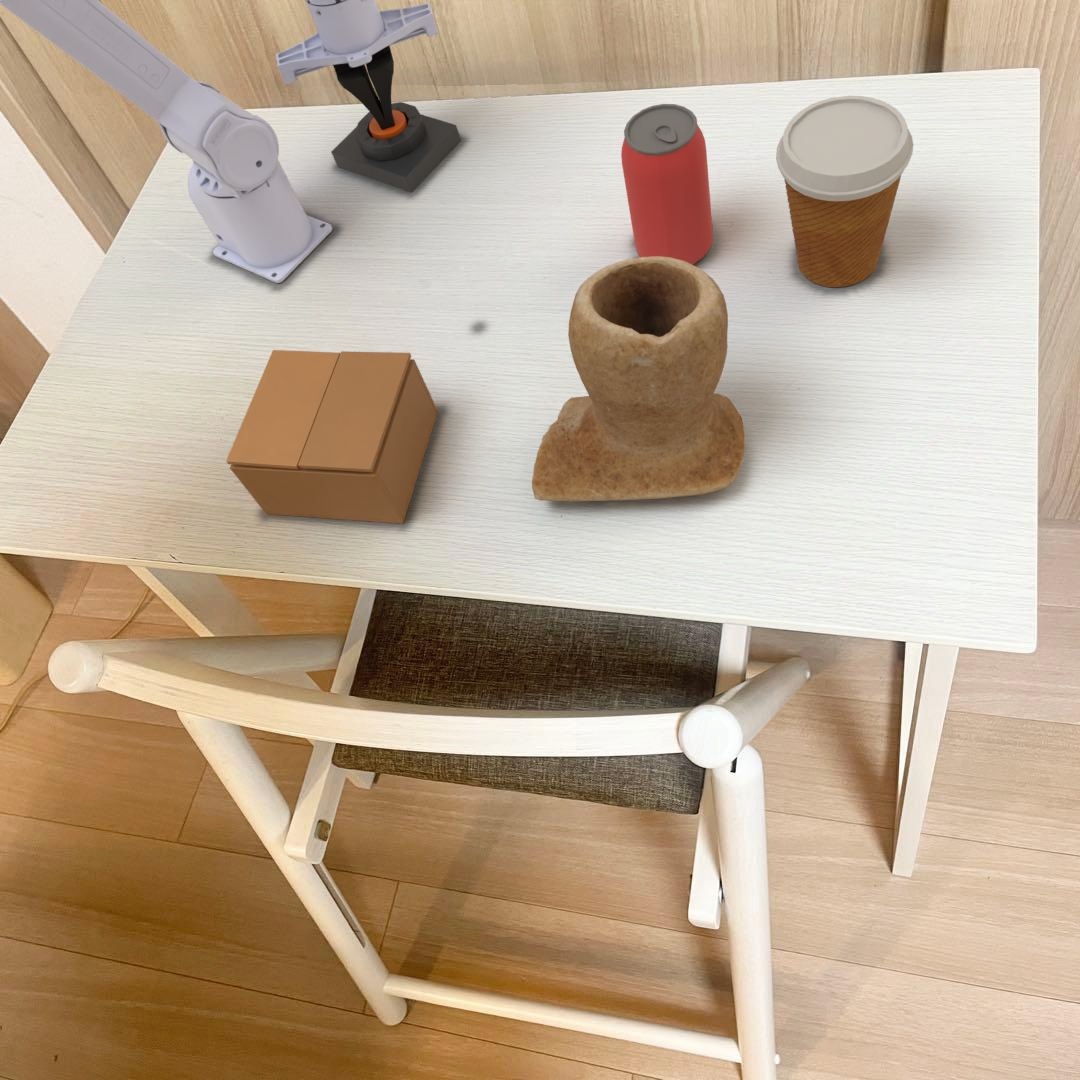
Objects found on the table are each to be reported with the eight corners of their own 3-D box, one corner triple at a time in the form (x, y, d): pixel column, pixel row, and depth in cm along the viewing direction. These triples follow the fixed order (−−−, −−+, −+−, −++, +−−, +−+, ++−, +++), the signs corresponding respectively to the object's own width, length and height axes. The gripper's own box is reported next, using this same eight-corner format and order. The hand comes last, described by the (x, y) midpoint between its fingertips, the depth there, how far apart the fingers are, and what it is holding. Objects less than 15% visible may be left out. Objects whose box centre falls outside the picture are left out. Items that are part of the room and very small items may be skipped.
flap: (228, 464, 76) (225, 461, 76) (274, 352, 81) (272, 349, 81) (298, 469, 74) (296, 466, 74) (341, 355, 80) (339, 352, 79)
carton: (265, 514, 82) (224, 461, 76) (307, 406, 87) (272, 349, 81) (403, 523, 78) (371, 470, 72) (438, 411, 83) (411, 352, 77)
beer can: (661, 286, 86) (644, 168, 76) (622, 242, 89) (601, 125, 79) (728, 249, 86) (721, 128, 76) (687, 208, 90) (674, 86, 80)
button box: (337, 167, 103) (324, 138, 100) (387, 118, 106) (376, 87, 103) (411, 193, 98) (400, 163, 96) (461, 141, 101) (451, 110, 98)
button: (367, 144, 101) (361, 129, 99) (390, 121, 102) (384, 106, 100) (394, 153, 99) (388, 138, 97) (417, 130, 100) (412, 114, 99)
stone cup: (745, 379, 79) (737, 229, 66) (745, 510, 73) (737, 372, 60) (552, 389, 82) (510, 248, 70) (537, 515, 76) (488, 385, 64)
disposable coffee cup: (763, 294, 83) (760, 173, 73) (794, 212, 87) (795, 87, 77) (884, 311, 80) (898, 186, 70) (911, 224, 84) (928, 95, 74)
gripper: (258, 38, 86) (320, 171, 97) (423, -18, 85) (466, 122, 96) (252, -6, 90) (312, 127, 101) (410, -59, 89) (453, 80, 100)
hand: (387, 122), depth 99 cm, fingers closed, pressing on button
